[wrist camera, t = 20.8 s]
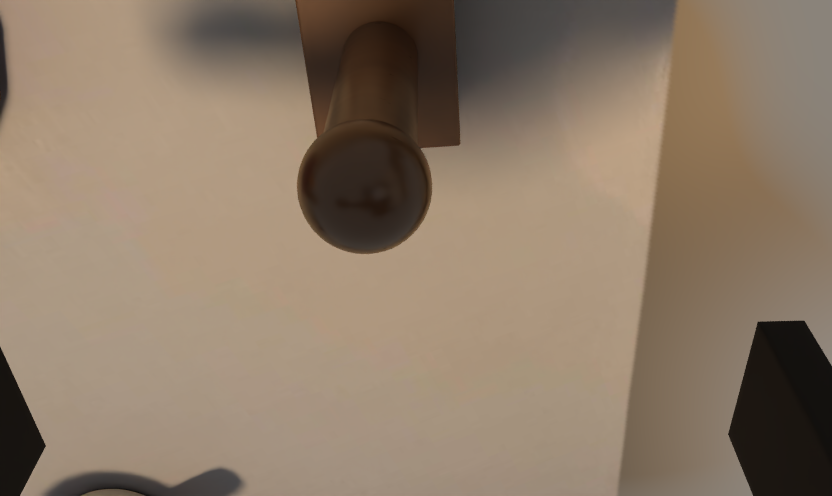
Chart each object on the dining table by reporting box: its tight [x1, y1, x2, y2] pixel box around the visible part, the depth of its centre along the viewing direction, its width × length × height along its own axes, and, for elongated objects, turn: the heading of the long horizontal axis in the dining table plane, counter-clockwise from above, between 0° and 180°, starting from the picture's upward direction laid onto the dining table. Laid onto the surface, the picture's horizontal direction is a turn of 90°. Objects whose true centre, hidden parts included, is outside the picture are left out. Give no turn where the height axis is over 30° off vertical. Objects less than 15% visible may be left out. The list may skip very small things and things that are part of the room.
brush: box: [295, 0, 460, 254], centre depth 26 cm, size 8×6×15 cm
